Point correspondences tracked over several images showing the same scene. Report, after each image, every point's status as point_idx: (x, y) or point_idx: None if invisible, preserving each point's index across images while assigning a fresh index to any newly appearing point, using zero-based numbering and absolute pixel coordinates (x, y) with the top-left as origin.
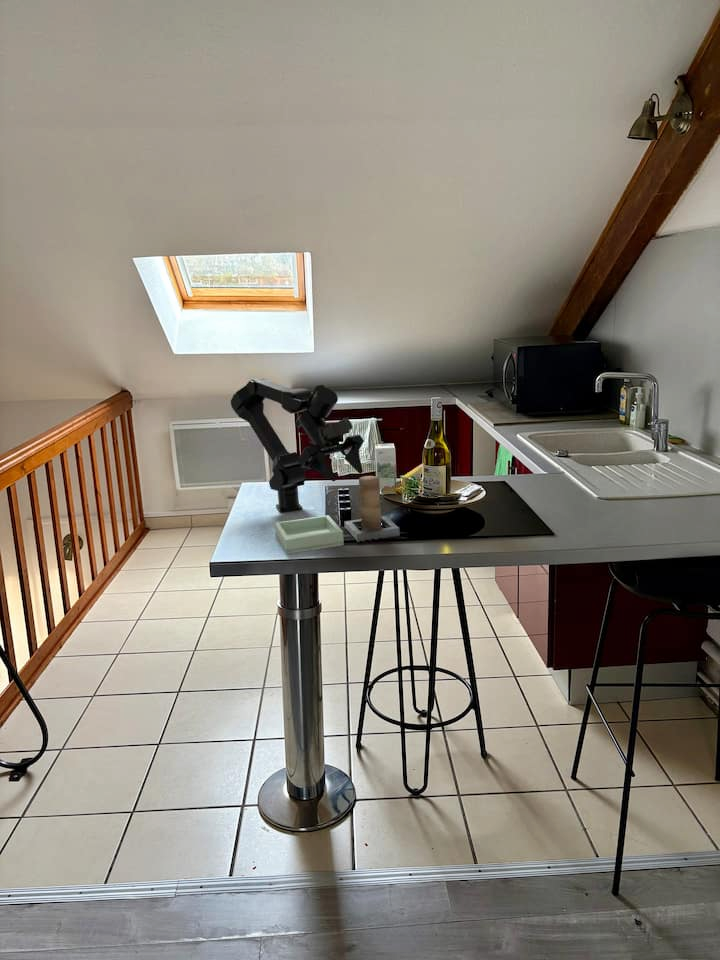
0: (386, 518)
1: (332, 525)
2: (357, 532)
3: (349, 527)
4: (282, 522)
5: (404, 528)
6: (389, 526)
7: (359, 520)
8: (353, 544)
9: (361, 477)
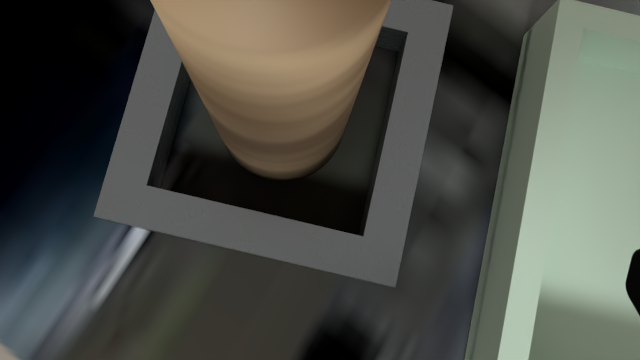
0: (125, 152)
1: (558, 163)
2: (431, 33)
3: (420, 162)
4: None
5: (82, 55)
6: None
7: (298, 236)
8: (472, 12)
9: (318, 31)
